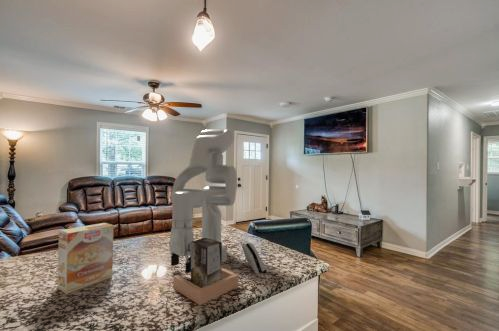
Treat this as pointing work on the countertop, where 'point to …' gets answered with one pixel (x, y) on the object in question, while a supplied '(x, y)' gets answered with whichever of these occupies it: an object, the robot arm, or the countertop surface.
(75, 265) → the coffeecake box
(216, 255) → the coffee box
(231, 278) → the bracket
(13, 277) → the countertop surface
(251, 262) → the grey game console
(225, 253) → the light grey cube
